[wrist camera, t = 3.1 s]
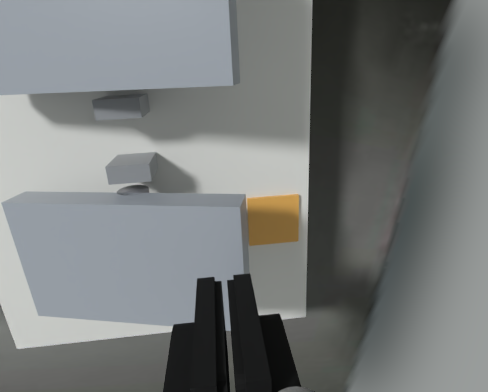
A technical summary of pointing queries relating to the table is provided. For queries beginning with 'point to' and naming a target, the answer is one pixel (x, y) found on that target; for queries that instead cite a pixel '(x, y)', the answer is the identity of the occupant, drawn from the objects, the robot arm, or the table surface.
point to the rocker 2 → (127, 251)
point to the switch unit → (176, 162)
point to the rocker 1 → (116, 45)
